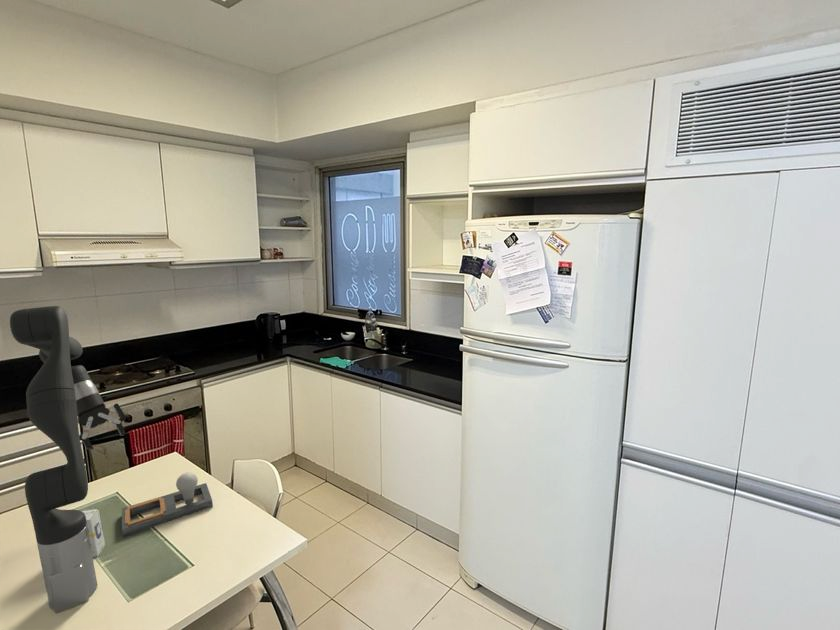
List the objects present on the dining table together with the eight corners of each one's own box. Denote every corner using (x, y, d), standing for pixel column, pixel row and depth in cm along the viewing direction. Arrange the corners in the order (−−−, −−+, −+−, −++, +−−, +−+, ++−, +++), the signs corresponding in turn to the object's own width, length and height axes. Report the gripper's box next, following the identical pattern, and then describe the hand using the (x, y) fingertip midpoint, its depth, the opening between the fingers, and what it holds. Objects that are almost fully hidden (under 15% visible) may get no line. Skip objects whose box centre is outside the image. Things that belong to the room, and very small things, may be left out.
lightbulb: (174, 508, 137) (170, 477, 135) (189, 497, 143) (186, 467, 141) (189, 511, 135) (185, 480, 133) (204, 500, 141) (200, 470, 139)
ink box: (105, 544, 121) (99, 507, 119) (97, 557, 116) (91, 518, 114) (70, 551, 119) (63, 512, 117) (60, 564, 114) (53, 524, 112)
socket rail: (212, 506, 138) (212, 499, 137) (123, 536, 124) (121, 528, 124) (206, 489, 147) (206, 482, 147) (123, 515, 134) (121, 507, 134)
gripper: (57, 405, 129) (81, 453, 129) (111, 385, 139) (134, 429, 139) (57, 410, 134) (80, 455, 134) (109, 389, 144) (130, 432, 144)
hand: (107, 442), depth 136 cm, fingers open, 8 cm apart
